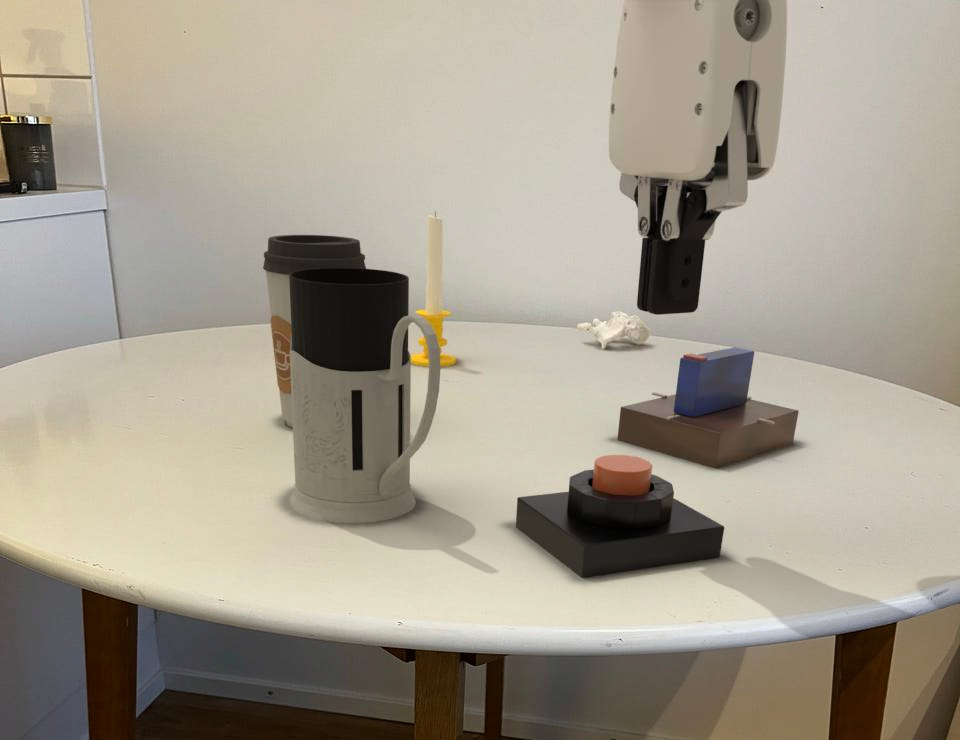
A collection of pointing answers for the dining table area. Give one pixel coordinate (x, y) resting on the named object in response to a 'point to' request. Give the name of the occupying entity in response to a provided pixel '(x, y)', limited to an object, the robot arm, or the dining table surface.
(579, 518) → the button box
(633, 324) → the vertebra bone
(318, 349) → the glass holder
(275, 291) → the coffee cup
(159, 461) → the dining table surface
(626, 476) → the button
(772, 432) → the brown flat base
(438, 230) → the candle
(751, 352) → the blue battery-like brick
